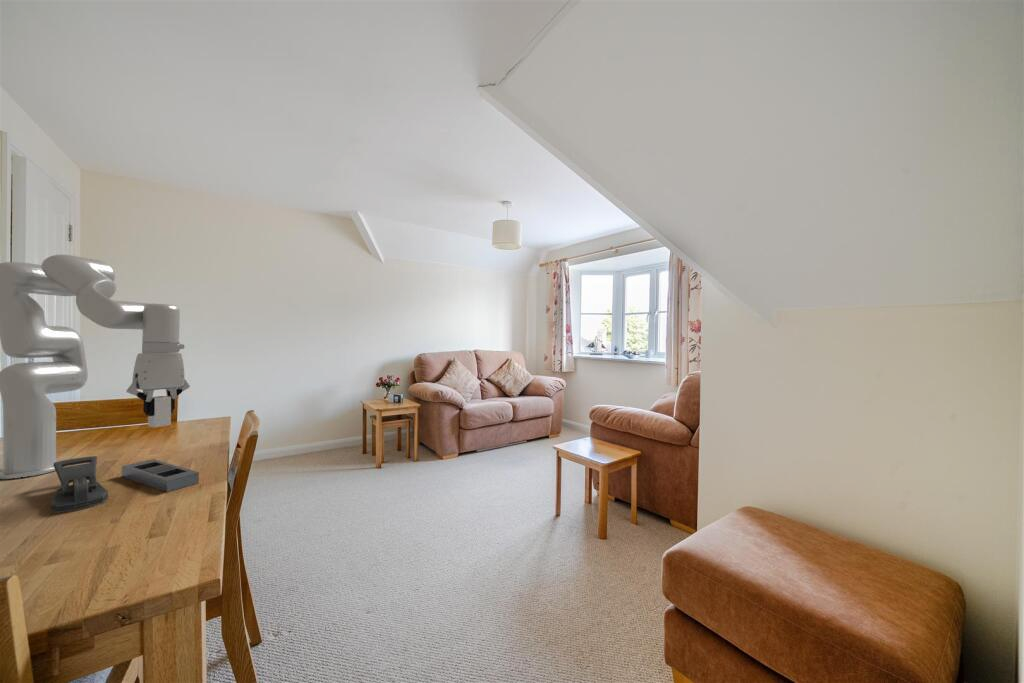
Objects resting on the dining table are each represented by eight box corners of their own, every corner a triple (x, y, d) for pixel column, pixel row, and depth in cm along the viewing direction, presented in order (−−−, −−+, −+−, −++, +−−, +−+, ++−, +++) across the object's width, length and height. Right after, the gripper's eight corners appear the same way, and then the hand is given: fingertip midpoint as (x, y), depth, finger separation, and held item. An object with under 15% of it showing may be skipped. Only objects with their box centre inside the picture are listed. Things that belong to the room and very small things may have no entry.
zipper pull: (99, 454, 108) (109, 476, 92) (99, 477, 108) (109, 503, 92) (50, 462, 101) (51, 487, 85) (49, 487, 101) (51, 516, 85)
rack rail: (121, 476, 109) (122, 465, 109) (153, 469, 115) (153, 458, 115) (167, 492, 99) (167, 480, 99) (198, 483, 105) (198, 472, 105)
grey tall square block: (148, 426, 106) (148, 397, 106) (164, 423, 109) (164, 395, 109) (154, 427, 104) (154, 397, 104) (170, 424, 107) (170, 396, 108)
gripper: (188, 347, 116) (187, 408, 116) (113, 348, 101) (112, 417, 101) (202, 348, 112) (201, 411, 113) (127, 349, 97) (125, 421, 98)
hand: (159, 413), depth 107 cm, fingers closed on grey tall square block, 3 cm apart
